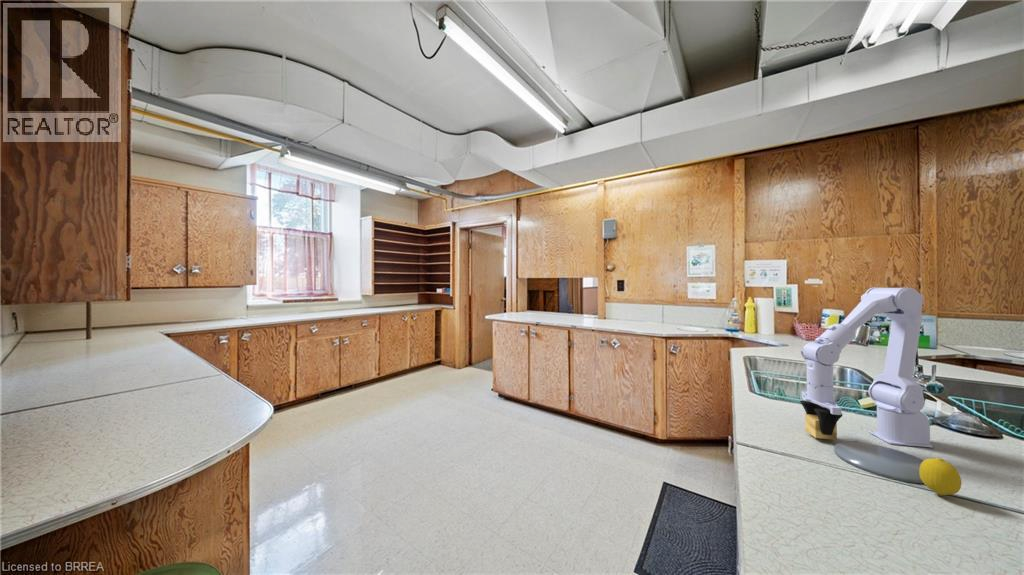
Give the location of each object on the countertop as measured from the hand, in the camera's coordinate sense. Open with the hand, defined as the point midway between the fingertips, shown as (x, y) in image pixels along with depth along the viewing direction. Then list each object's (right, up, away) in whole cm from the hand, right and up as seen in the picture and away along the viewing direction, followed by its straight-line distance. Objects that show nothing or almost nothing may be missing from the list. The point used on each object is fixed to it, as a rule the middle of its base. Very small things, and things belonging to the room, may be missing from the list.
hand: (820, 430), depth 97 cm
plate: (+3, -3, -13) cm, 14 cm away
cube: (0, -1, 0) cm, 1 cm away
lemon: (+1, -3, -26) cm, 26 cm away
